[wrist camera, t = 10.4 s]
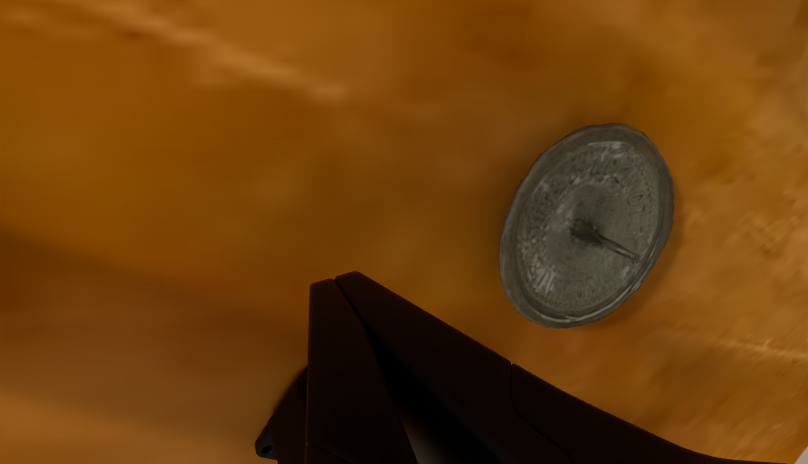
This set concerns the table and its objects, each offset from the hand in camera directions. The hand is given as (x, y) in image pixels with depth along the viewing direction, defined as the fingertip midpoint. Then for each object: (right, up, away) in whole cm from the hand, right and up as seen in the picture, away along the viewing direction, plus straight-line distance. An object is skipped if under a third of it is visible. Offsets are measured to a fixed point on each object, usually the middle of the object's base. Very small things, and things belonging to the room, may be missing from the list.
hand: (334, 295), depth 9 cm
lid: (+10, +2, +19) cm, 21 cm away
